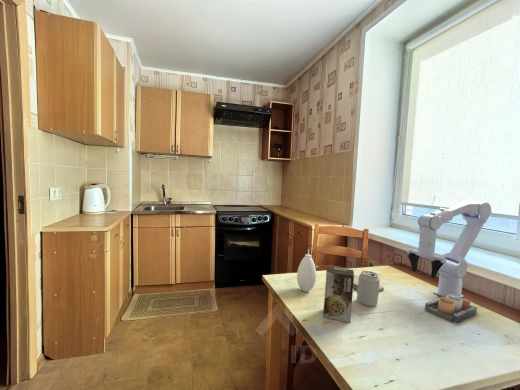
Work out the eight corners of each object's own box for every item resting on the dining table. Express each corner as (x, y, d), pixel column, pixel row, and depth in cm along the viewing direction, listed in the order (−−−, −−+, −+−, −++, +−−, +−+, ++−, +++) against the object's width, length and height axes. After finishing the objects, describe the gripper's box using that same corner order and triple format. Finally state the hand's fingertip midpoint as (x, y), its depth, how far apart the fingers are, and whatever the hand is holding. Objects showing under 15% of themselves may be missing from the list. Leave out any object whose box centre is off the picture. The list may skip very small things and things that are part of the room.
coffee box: (350, 314, 90) (354, 269, 89) (350, 323, 84) (354, 275, 83) (323, 308, 93) (327, 265, 92) (322, 316, 87) (326, 270, 86)
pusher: (448, 303, 104) (449, 292, 104) (470, 311, 98) (471, 300, 97) (445, 304, 103) (446, 293, 103) (467, 312, 97) (469, 301, 96)
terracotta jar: (440, 309, 99) (441, 295, 98) (455, 315, 95) (457, 300, 94) (434, 312, 96) (436, 298, 96) (450, 318, 92) (452, 303, 91)
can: (379, 309, 95) (382, 277, 95) (358, 305, 97) (361, 275, 96) (374, 300, 103) (377, 271, 102) (355, 297, 104) (357, 268, 103)
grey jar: (448, 306, 102) (450, 292, 101) (463, 312, 97) (465, 298, 97) (442, 308, 99) (444, 294, 99) (457, 315, 95) (459, 300, 95)
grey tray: (445, 301, 106) (446, 295, 106) (476, 313, 97) (477, 307, 97) (424, 309, 97) (424, 303, 97) (455, 323, 88) (456, 316, 88)
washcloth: (350, 277, 128) (351, 271, 128) (385, 291, 113) (385, 284, 113) (335, 281, 121) (335, 274, 121) (369, 296, 107) (370, 289, 106)
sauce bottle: (317, 295, 104) (320, 251, 102) (298, 294, 103) (301, 250, 102) (311, 287, 111) (315, 246, 110) (294, 286, 111) (297, 245, 110)
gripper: (404, 239, 112) (401, 269, 113) (441, 248, 99) (437, 282, 100) (413, 238, 115) (410, 267, 116) (450, 246, 103) (446, 279, 104)
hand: (423, 274), depth 108 cm, fingers open, 7 cm apart
